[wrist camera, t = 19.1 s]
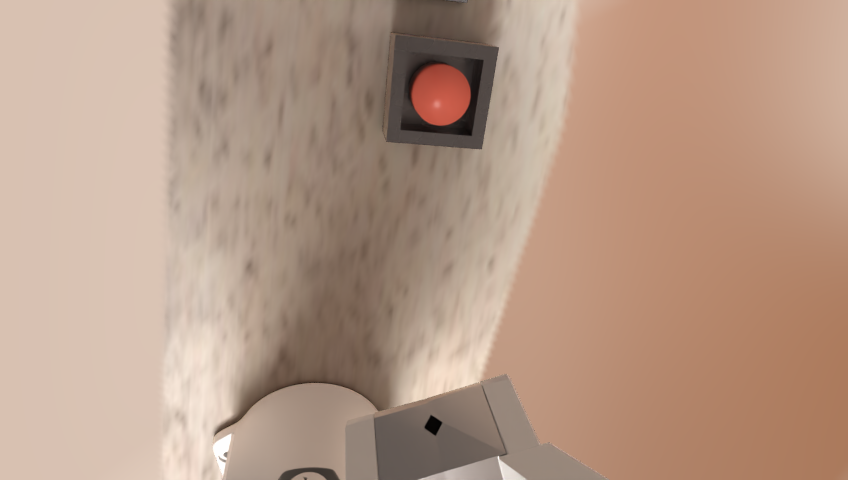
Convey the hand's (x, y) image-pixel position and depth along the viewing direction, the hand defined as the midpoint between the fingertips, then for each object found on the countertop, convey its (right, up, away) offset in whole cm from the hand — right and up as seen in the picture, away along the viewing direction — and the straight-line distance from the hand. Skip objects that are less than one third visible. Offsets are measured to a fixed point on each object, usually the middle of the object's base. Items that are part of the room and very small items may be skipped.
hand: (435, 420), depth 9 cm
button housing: (0, +15, +28) cm, 32 cm away
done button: (+1, +14, +27) cm, 30 cm away
